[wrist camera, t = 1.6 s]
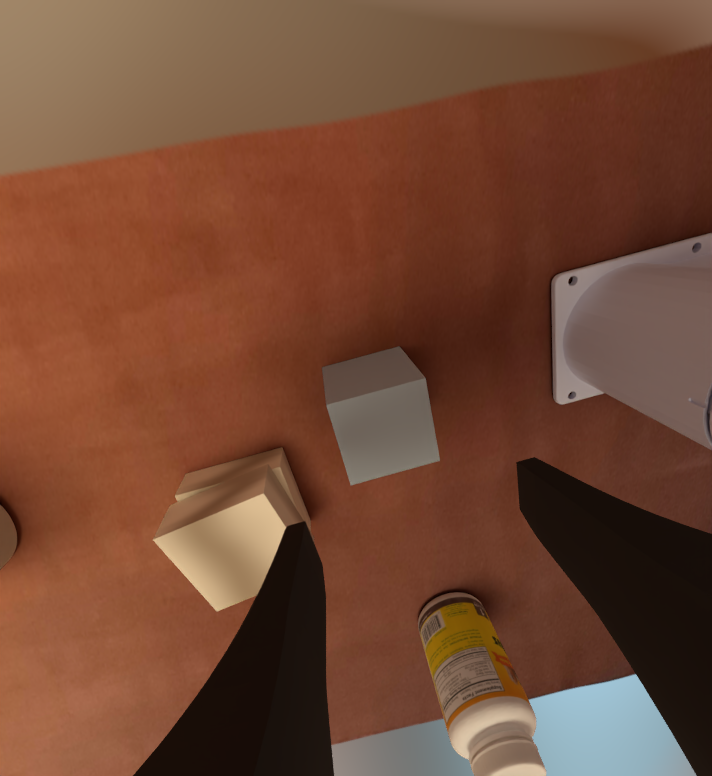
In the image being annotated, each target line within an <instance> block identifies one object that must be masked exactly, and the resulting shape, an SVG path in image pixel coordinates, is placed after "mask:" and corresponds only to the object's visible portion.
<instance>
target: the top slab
mask: <svg viewBox="0 0 712 776" xmlns="http://www.w3.org/2000/svg"><path fill="white" fill-rule="evenodd" d="M303 521H304V520H303V519H302V517H301V515H300V514H299V512H298V511H297V509H296V507H295V506H294V504H293V503H292V501H291V499H290V498H289V496H288V495H287V493H286V491H285V490H284V488H283V487H282V485H281V483H280V482H279V480H278V479H277V477H276V475H275V474H274V472H273V471H272V469H271V467H270V466H269V464H267V465H264V466H262V467H260V468H257V469H255V470H252V471H250V472H248V473H245V474H243V475H241V476H238V477H236V478H234V479H231V480H229V481H226V482H224V483H222V484H219V485H217V486H215V487H212V488H210V489H208V490H205V491H203V492H200V493H198V494H196V495H193V496H191V497H189V498H186V499H184V500H182V501H179V502H177V503H174V504H172V505H170V506H169V508H168V510H167V512H166V514H165V516H164V518H163V520H162V522H161V524H160V526H159V528H158V530H157V532H156V534H155V536H154V538H153V541H154V542H155V543H156V544H157V545H158V546H159V547H160V548H161V549H162V551H163V552H164V553H165V554H166V555H167V556H168V557H169V558H170V560H171V561H172V562H173V563H174V564H175V565H176V566H177V567H178V569H179V570H180V571H181V572H182V573H183V574H184V575H185V576H186V577H187V579H188V580H189V581H190V582H191V583H192V584H193V585H194V586H195V588H196V589H197V590H198V591H199V592H200V593H201V594H202V595H203V597H204V598H205V599H206V600H207V601H208V602H209V603H210V604H211V605H212V607H213V608H214V609H215V610H216V611H219V610H222V609H224V608H227V607H229V606H232V605H234V604H237V603H239V602H241V601H244V600H246V599H249V598H251V597H254V596H256V595H257V594H258V592H259V590H260V588H261V586H262V584H263V582H264V579H265V577H266V575H267V573H268V570H269V568H270V566H271V564H272V561H273V559H274V556H275V554H276V552H277V549H278V547H279V544H280V541H281V539H282V536H283V534H284V531H285V529H286V527H287V526H289V525H292V524H296V523H300V522H303ZM308 529H309V528H308ZM309 532H310V534H311V537H312V539H313V542H314V536H313V535H312V533H311V531H310V530H309Z"/></svg>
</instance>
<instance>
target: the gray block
mask: <svg viewBox="0 0 712 776" xmlns="http://www.w3.org/2000/svg"><path fill="white" fill-rule="evenodd" d="M322 372H323V380H324V389H325V398H326V406H327V409H328V412H329V415H330V419H331V422H332V425H333V428H334V432H335V435H336V438H337V442H338V445H339V448H340V451H341V455H342V458H343V461H344V464H345V468H346V471H347V474H348V477H349V481H350V484H351V485H354V484H357V483H361V482H365V481H368V480H372V479H375V478H379V477H383V476H386V475H390V474H393V473H397V472H401V471H404V470H408V469H411V468H415V467H419V466H422V465H426V464H429V463H433V462H437V461H440V458H439V452H438V447H437V441H436V435H435V429H434V424H433V418H432V412H431V407H430V401H429V395H428V389H427V384H426V378H425V377H424V376H423V374H422V373H421V372H420V371H419V369H418V368H417V367H416V366H415V365H414V363H413V362H412V361H411V360H410V359H409V357H408V356H407V355H406V354H405V352H404V351H403V350H402V349H401V348H400V346H399V347H395V348H391V349H388V350H384V351H380V352H377V353H373V354H369V355H365V356H362V357H358V358H354V359H351V360H347V361H343V362H339V363H336V364H332V365H328V366H325V367H322Z"/></svg>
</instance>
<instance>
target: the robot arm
mask: <svg viewBox="0 0 712 776" xmlns="http://www.w3.org/2000/svg"><path fill="white" fill-rule="evenodd" d="M693 246H694V249H693V250H692V248H693ZM570 277H573V280H572V282H571V284H569V283H568V281H569V279H570ZM551 302H552V358H553V399H554V401H555V402H557V403H558V404H567V403H570V402H574V401H578V400H581V399H585V398H589V397H592V396H596V395H600V394H603V393H606V394H608V395H610V396H611V397H613V398H615V399H617V400H619V401H621V402H623V403H625V404H626V405H628V406H630V407H632V408H634V409H636V410H638V411H639V412H641V413H643V414H645V415H647V416H649V417H651V418H653V419H654V420H656V421H658V422H660V423H662V424H664V425H666V426H668V427H669V428H671V429H673V430H675V431H677V432H679V433H681V434H683V435H684V436H686V437H688V438H690V439H692V440H694V441H696V442H697V443H699V444H701V445H703V446H705V447H707V448H709V449H711V450H712V233H708V234H705V235H701V236H697V237H693V238H690V239H686V240H682V241H678V242H675V243H671V244H667V245H663V246H660V247H656V248H652V249H649V250H645V251H641V252H637V253H634V254H630V255H626V256H622V257H619V258H615V259H611V260H607V261H604V262H600V263H596V264H593V265H589V266H585V267H581V268H578V269H574V270H570V271H566V272H563V273H559V274H557V275H556V276H555V277H554V278H553V280H552V283H551ZM570 392H572V394H571V395H570V396H568V395H569V393H570ZM517 475H518V489H519V504H520V510H521V512H522V514H523V515H524V517H525V519H526V520H527V522H528V524H529V525H530V527H531V528H532V530H533V532H534V533H535V535H536V536H537V538H538V539H539V540H540V542H541V543H542V544H543V546H544V547H545V548H546V549H547V551H548V552H549V553H550V554H551V556H552V557H553V558H554V560H555V561H556V562H557V563H558V565H559V566H560V567H561V568H562V570H563V571H564V572H565V573H566V575H567V576H568V577H569V578H570V580H571V581H572V582H573V583H574V585H575V586H576V587H577V589H578V590H579V591H580V592H581V594H582V595H583V596H584V597H585V599H586V600H587V601H588V603H589V604H590V605H591V607H592V608H593V609H594V611H595V612H596V613H597V615H598V616H599V618H600V619H601V621H602V622H603V624H604V625H605V627H606V628H607V630H608V631H609V633H610V634H611V636H612V637H613V639H614V640H615V642H616V643H617V645H618V647H619V648H620V650H621V651H622V653H623V654H624V656H625V657H626V659H627V661H628V662H629V664H630V665H631V667H632V668H633V670H634V672H635V673H636V675H637V676H638V678H639V679H640V681H641V683H642V684H643V685H644V687H645V689H646V691H647V692H648V694H649V696H650V697H651V699H652V700H653V702H654V704H655V706H656V707H657V709H658V710H659V712H660V714H661V715H662V717H663V719H664V720H665V722H666V724H667V725H668V727H669V729H670V730H671V732H672V733H673V735H674V737H675V739H676V740H677V742H678V744H679V746H680V747H681V749H682V751H683V752H684V754H685V756H686V758H687V759H688V761H689V763H690V765H691V766H692V768H693V770H694V772H695V773H696V775H697V776H712V534H710V533H707V532H704V531H701V530H698V529H695V528H692V527H689V526H686V525H683V524H680V523H677V522H675V521H672V520H669V519H667V518H664V517H661V516H658V515H656V514H653V513H651V512H648V511H646V510H643V509H641V508H638V507H636V506H634V505H632V504H629V503H627V502H625V501H622V500H620V499H618V498H615V497H613V496H611V495H609V494H607V493H605V492H602V491H600V490H598V489H596V488H594V487H592V486H590V485H588V484H586V483H584V482H582V481H580V480H578V479H576V478H574V477H572V476H570V475H568V474H566V473H564V472H562V471H560V470H558V469H557V468H555V467H553V466H551V465H549V464H547V463H545V462H543V461H541V460H539V459H537V458H535V457H534V458H530V459H526V460H523V461H519V462H517ZM133 776H334V771H333V759H332V749H331V738H330V727H329V715H328V703H327V689H326V593H325V583H324V575H323V566H322V562H321V560H320V557H319V555H318V552H317V550H316V547H315V544H314V542H313V539H312V537H311V534H310V532H309V529H308V527H307V524H306V521H303V522H300V523H296V524H292V525H289V526H287V527H286V529H285V531H284V534H283V536H282V539H281V541H280V544H279V547H278V549H277V552H276V554H275V556H274V559H273V561H272V564H271V566H270V568H269V570H268V573H267V575H266V577H265V579H264V582H263V584H262V586H261V588H260V590H259V592H258V594H257V596H256V598H255V600H254V602H253V604H252V606H251V608H250V610H249V612H248V614H247V616H246V618H245V620H244V621H243V623H242V625H241V627H240V629H239V630H238V632H237V634H236V636H235V637H234V639H233V641H232V642H231V644H230V646H229V647H228V649H227V651H226V652H225V654H224V656H223V657H222V659H221V660H220V662H219V663H218V665H217V666H216V668H215V669H214V671H213V673H212V674H211V676H210V677H209V679H208V680H207V682H206V683H205V685H204V686H203V687H202V689H201V690H200V692H199V693H198V695H197V696H196V697H195V699H194V700H193V701H192V703H191V704H190V705H189V707H188V708H187V709H186V711H185V712H184V713H183V715H182V716H181V717H180V719H179V720H178V721H177V723H176V724H175V725H174V727H173V728H172V729H171V731H170V732H169V733H168V735H167V736H166V737H165V738H164V740H163V741H162V742H161V743H160V744H159V746H158V747H157V748H156V749H155V751H154V752H153V753H152V754H151V755H150V756H149V758H148V759H147V760H146V761H145V762H144V764H143V765H142V766H141V767H140V768H139V769H138V771H137V772H136V773H135V774H134V775H133Z"/></svg>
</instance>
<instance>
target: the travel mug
mask: <svg viewBox="0 0 712 776" xmlns="http://www.w3.org/2000/svg"><path fill="white" fill-rule="evenodd" d="M16 546H17V532H16V528H15V526H14V523H13V521H12V519H11V518H10V516H9V514H8V513H7V512H6V510H5V509H4V508H3V507H2V506H1V505H0V570H1V568H2V567H3V566H4V565H5V564H6V563H7V562H8V561H9V560H10V558H11V557H12V556H13V554H14V552H15V549H16Z"/></svg>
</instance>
